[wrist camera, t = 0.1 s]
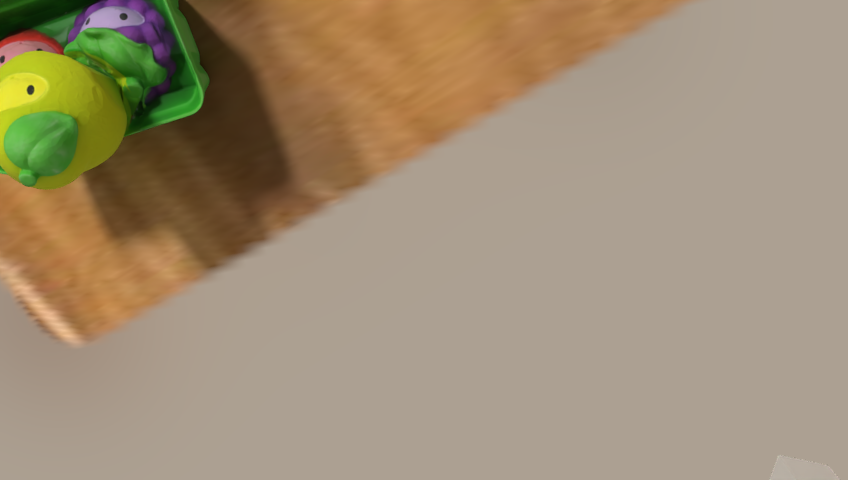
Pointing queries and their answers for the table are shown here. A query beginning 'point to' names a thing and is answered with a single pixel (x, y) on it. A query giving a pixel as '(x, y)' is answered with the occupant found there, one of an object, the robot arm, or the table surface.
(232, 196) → the table surface
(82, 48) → the fruit basket
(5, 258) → the table surface
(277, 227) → the table surface
